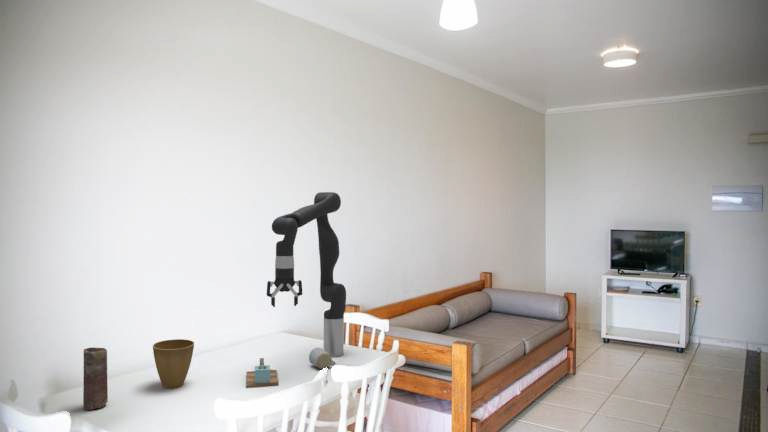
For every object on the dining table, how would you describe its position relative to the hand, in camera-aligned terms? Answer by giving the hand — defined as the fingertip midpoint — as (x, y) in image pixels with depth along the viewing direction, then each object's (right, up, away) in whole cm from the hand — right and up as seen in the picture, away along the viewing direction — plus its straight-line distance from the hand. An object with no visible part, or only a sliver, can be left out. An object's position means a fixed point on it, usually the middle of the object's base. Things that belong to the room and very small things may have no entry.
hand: (284, 306), depth 220 cm
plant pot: (-40, -28, -13) cm, 51 cm away
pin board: (-8, -28, -6) cm, 30 cm away
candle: (-58, -29, -35) cm, 74 cm away
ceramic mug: (+14, -28, +12) cm, 34 cm away
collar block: (-7, -27, -11) cm, 30 cm away
